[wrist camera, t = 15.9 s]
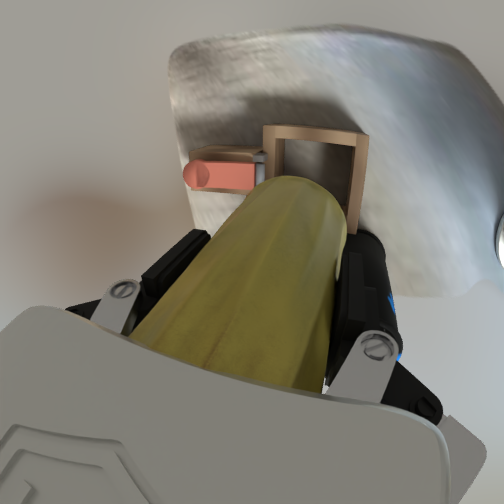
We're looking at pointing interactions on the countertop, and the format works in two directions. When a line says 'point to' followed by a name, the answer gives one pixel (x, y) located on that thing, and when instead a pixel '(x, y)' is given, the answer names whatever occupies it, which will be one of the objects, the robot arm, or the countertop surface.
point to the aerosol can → (376, 279)
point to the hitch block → (274, 159)
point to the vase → (259, 290)
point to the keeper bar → (223, 174)
